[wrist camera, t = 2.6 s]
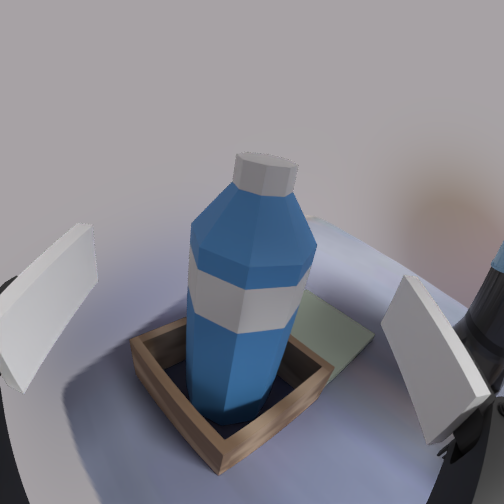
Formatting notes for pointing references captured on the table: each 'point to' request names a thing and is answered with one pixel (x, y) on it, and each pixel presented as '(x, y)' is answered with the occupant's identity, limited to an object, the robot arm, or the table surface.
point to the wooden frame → (192, 422)
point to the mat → (329, 332)
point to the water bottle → (244, 288)
